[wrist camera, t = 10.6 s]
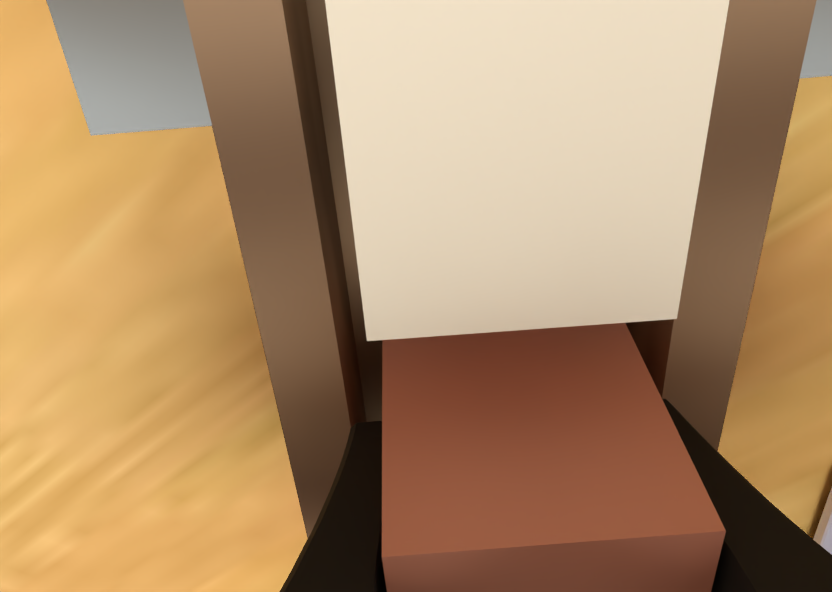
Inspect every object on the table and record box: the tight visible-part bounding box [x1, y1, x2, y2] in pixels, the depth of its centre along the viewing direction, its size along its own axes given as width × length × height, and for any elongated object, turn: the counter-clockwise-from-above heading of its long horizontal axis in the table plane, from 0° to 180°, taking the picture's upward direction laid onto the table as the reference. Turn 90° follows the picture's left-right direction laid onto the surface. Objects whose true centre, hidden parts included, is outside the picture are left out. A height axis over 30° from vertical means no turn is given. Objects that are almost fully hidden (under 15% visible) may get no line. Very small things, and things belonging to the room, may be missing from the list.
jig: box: [46, 0, 832, 538], centre depth 12 cm, size 16×13×4 cm
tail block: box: [382, 323, 726, 592], centre depth 12 cm, size 4×4×6 cm
